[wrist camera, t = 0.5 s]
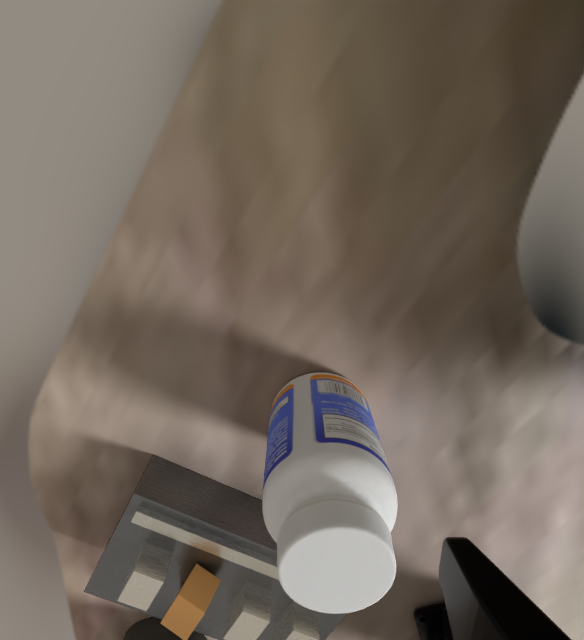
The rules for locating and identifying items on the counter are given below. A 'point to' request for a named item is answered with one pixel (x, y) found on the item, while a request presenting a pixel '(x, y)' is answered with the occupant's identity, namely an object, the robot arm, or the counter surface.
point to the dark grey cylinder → (156, 631)
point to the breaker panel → (202, 558)
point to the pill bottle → (328, 496)
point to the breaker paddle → (191, 602)
